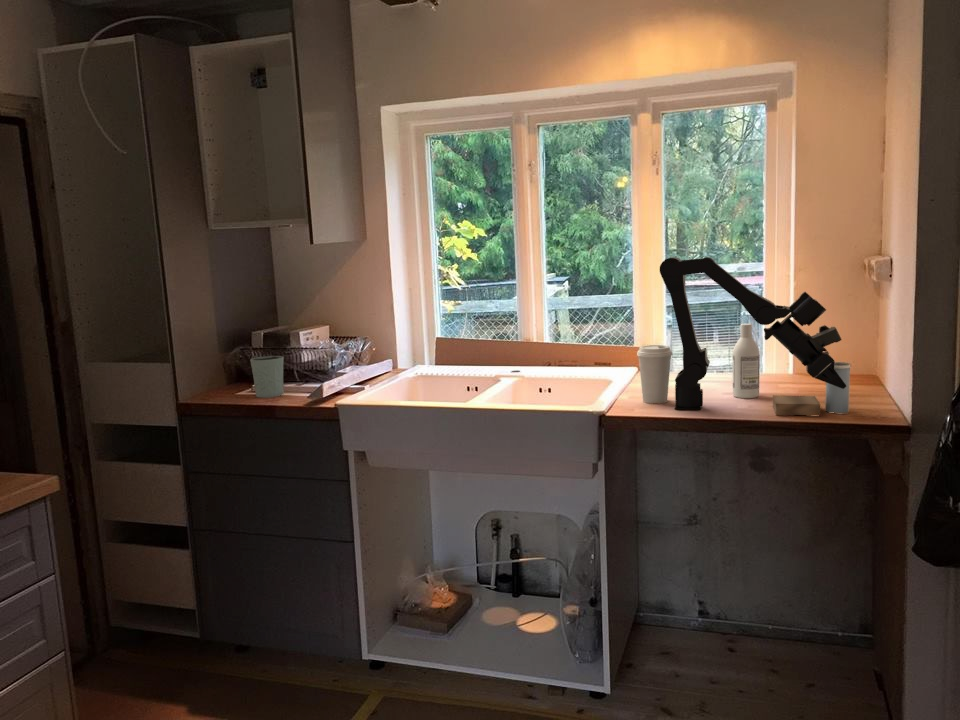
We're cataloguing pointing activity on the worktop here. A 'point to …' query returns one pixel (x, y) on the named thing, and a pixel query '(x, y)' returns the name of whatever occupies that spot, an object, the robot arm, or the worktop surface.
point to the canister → (839, 390)
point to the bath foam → (746, 365)
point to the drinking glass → (268, 376)
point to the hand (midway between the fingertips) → (842, 383)
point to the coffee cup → (654, 372)
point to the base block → (796, 405)
